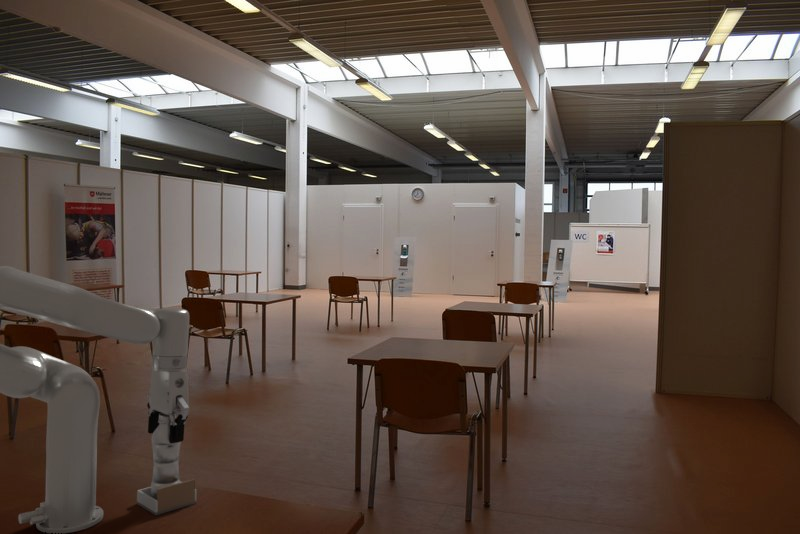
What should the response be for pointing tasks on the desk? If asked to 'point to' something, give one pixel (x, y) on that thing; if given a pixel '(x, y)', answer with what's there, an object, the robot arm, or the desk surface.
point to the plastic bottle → (164, 456)
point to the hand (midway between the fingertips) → (165, 437)
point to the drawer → (168, 497)
